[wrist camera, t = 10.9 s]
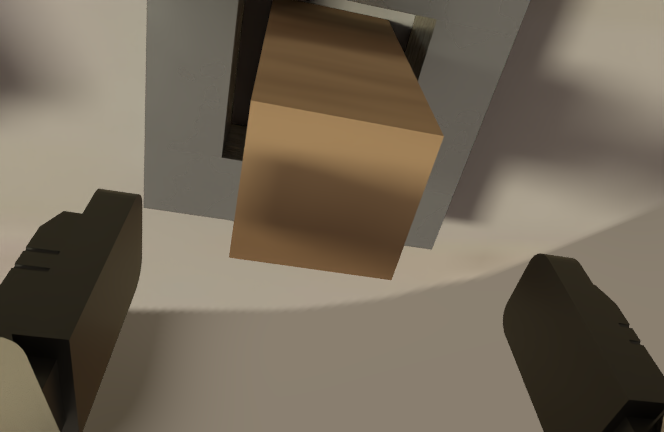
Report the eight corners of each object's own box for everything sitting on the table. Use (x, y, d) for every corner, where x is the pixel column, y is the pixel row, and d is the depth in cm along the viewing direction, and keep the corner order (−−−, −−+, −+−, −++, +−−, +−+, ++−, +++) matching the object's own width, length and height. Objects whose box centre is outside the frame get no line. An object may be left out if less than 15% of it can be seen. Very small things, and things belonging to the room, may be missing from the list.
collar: (171, -153, 17) (149, -153, 15) (519, -68, 19) (552, -55, 16) (160, 170, 24) (143, 207, 21) (419, 210, 25) (431, 249, 23)
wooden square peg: (273, -5, 20) (251, 100, 12) (388, 20, 20) (443, 136, 12) (257, 105, 22) (229, 257, 14) (360, 124, 23) (391, 279, 15)
